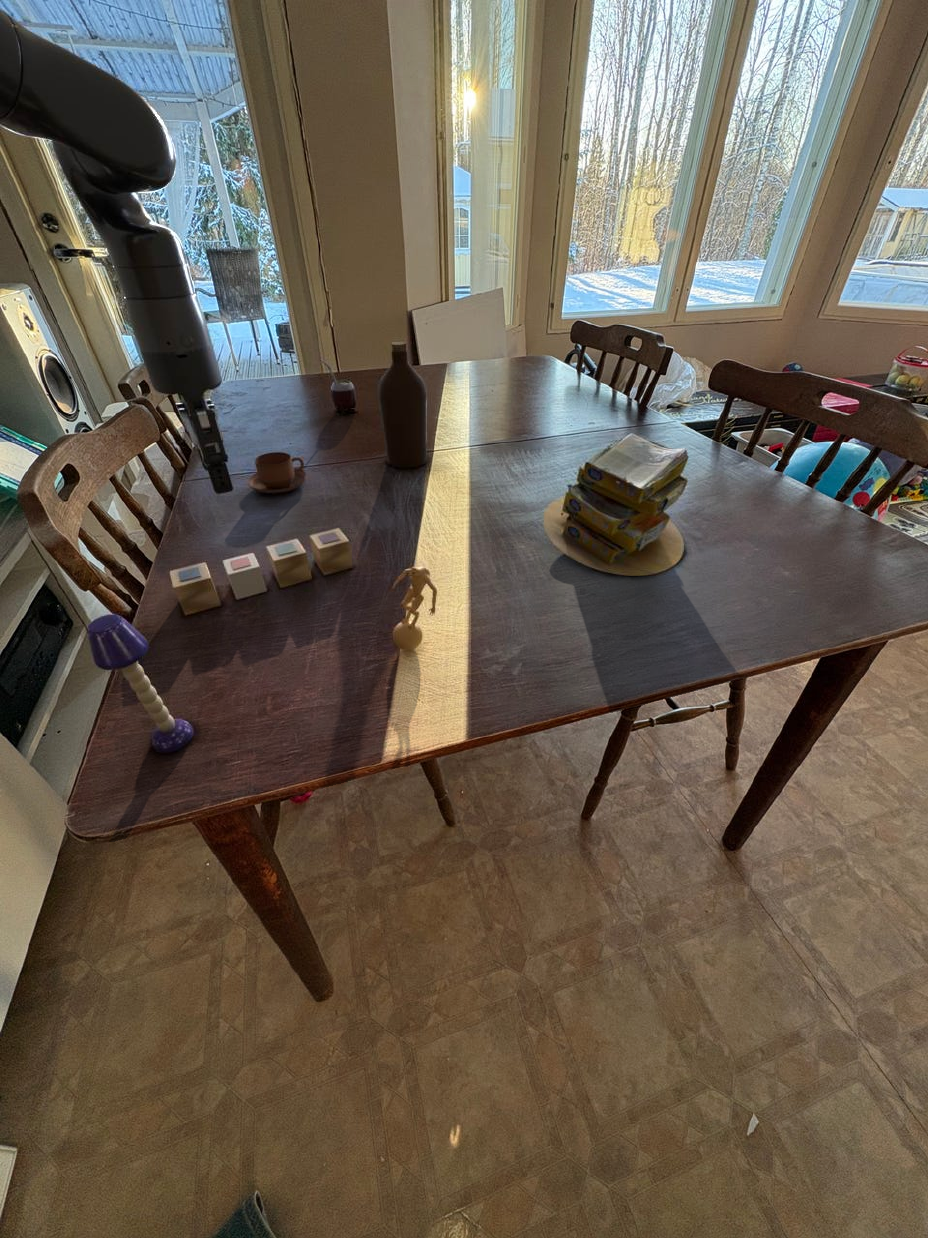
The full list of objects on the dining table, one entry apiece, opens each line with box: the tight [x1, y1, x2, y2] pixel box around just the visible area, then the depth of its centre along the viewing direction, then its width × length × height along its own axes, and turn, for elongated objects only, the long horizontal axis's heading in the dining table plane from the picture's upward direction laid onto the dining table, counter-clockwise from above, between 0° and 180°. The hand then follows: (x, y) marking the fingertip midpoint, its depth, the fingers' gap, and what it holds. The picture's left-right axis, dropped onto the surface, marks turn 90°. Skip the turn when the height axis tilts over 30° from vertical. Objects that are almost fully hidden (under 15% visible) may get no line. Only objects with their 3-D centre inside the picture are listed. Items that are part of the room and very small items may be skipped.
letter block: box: [222, 552, 268, 600], centre depth 79 cm, size 5×5×5 cm
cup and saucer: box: [247, 451, 308, 494], centre depth 108 cm, size 12×12×6 cm
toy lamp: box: [86, 613, 195, 754], centre depth 52 cm, size 5×5×17 cm
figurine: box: [392, 565, 438, 651], centre depth 66 cm, size 8×6×12 cm
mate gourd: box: [318, 358, 357, 416], centre depth 146 cm, size 8×8×15 cm
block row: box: [169, 527, 354, 616], centre depth 80 cm, size 26×5×5 cm, turn 120°
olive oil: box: [377, 341, 428, 469], centre depth 113 cm, size 11×11×25 cm
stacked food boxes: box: [542, 432, 689, 577], centre depth 87 cm, size 25×25×17 cm
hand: (218, 479), depth 67 cm, fingers open, 8 cm apart
